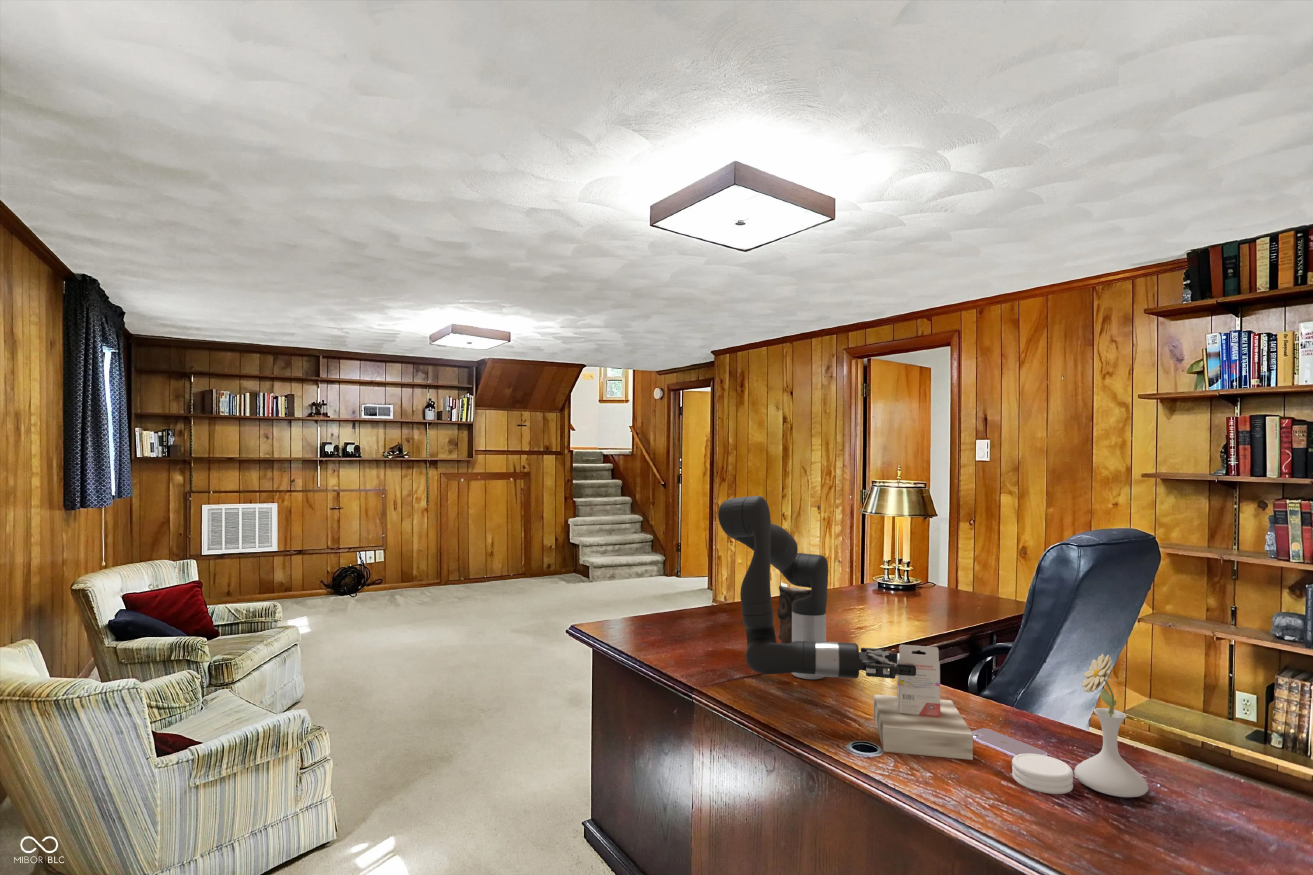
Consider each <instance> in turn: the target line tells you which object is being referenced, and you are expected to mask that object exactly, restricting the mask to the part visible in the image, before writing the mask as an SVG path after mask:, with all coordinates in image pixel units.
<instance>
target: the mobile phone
mask: <svg viewBox="0 0 1313 875" xmlns="http://www.w3.org/2000/svg"><path fill="white" fill-rule="evenodd" d="M970 731H971V730H970ZM971 733H972V734H973V739H974V740H973V741H975V740H976V741H975V742H977V741H978V742H977V743H980V744H983V745H985V746H988V747H990V748H992V749H994V748H995V749H994V750H997V751H999V752H1002V753H1004V754H1007V755H1008V756H1011V757H1012V758H1014V757H1015V756H1017V755H1019V754H1026V753H1031V754H1040V755H1045V756H1048V752H1047V751H1046V750H1044V749H1041V748H1038V747H1035V746H1033V745H1031V744H1028V743H1025V742H1023V741H1020V740H1018V739H1015V738H1012V737H1010V736H1007V735H1006V734H1002V733H1000V732H998V731H994V730H992V729H990V728H986V727H983V728H977V729H975V730H972V731H971Z"/></svg>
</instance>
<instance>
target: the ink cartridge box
mask: <svg viewBox="0 0 1313 875" xmlns="http://www.w3.org/2000/svg"><path fill="white" fill-rule="evenodd" d="M898 650H899V652H897V653H898V654H897V664H910V665H915V667H916V675H915V676H906V675H898V674H897V676H896V680H897V681H896V682H897V687H896V688H897V690H896V691H897V693H896V694H897V695H896V696H897V697H898V710H899V713H904V714H914V715H924V716H934V717H940V700H941V664H940V661H939V660H940V658H939V654H940V653H939V652H940V651H939V648H938V647H937V646H934V647H933V646H925V645H924V646H923V645H922V646H921V645H910V644H900V645H899V646H898ZM917 651H920V652H922V653H925V654H917V653H913V652H917Z"/></svg>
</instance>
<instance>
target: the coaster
mask: <svg viewBox="0 0 1313 875" xmlns="http://www.w3.org/2000/svg"><path fill="white" fill-rule="evenodd" d="M1011 764H1012V766H1011V769H1012V773H1011V775H1012V778H1013V779H1014V780H1015V781H1016V783H1018V784H1019V785H1020V786H1023V787H1024V788H1027V789H1029V790H1032V791H1036V792H1038V793H1039V792H1040V793H1044V794H1051V795H1062V794H1068V793H1070V792H1071V791H1073V788H1074V783H1073V782H1074V771H1073V769H1072V768H1071V766H1070V765H1068V764H1067V763H1066V762H1064V761H1062V760H1060V759H1058V758H1056V757H1053V756H1045V755H1040V754H1031V753H1026V754H1019V755H1017V756H1015V757H1012V760H1011Z"/></svg>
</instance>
